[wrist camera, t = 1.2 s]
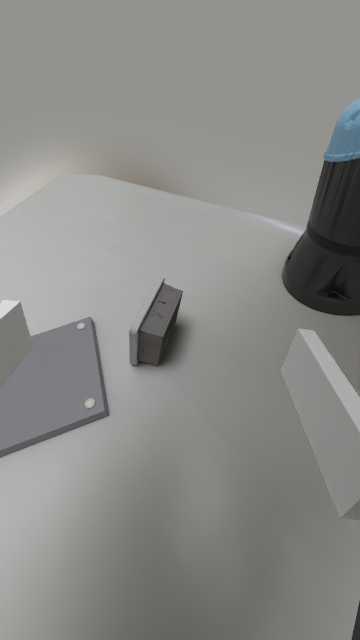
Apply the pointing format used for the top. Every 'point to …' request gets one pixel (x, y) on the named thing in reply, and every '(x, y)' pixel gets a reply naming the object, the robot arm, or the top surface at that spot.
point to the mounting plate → (53, 387)
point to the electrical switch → (154, 323)
